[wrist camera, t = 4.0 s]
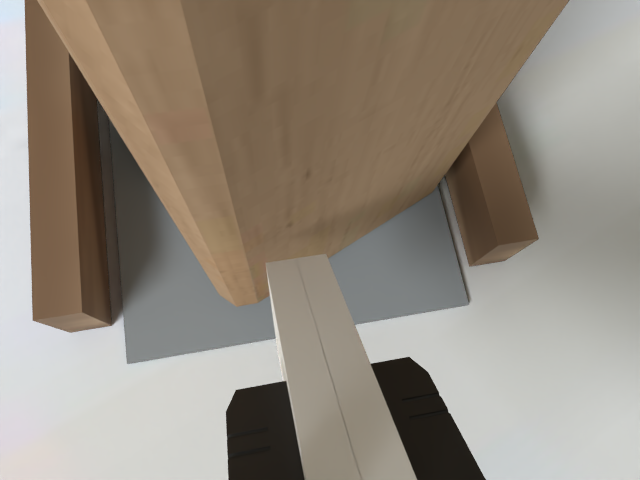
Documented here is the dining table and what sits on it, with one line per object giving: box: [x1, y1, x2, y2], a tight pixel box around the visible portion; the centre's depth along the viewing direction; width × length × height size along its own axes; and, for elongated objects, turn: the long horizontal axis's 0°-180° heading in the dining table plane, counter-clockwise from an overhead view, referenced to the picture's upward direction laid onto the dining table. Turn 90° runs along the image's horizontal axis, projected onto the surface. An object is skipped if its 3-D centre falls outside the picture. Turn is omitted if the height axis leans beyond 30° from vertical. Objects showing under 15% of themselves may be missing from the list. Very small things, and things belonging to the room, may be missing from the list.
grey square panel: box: [109, 118, 469, 364], centre depth 22 cm, size 13×15×1 cm
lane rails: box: [25, 0, 539, 332], centre depth 21 cm, size 17×13×3 cm
